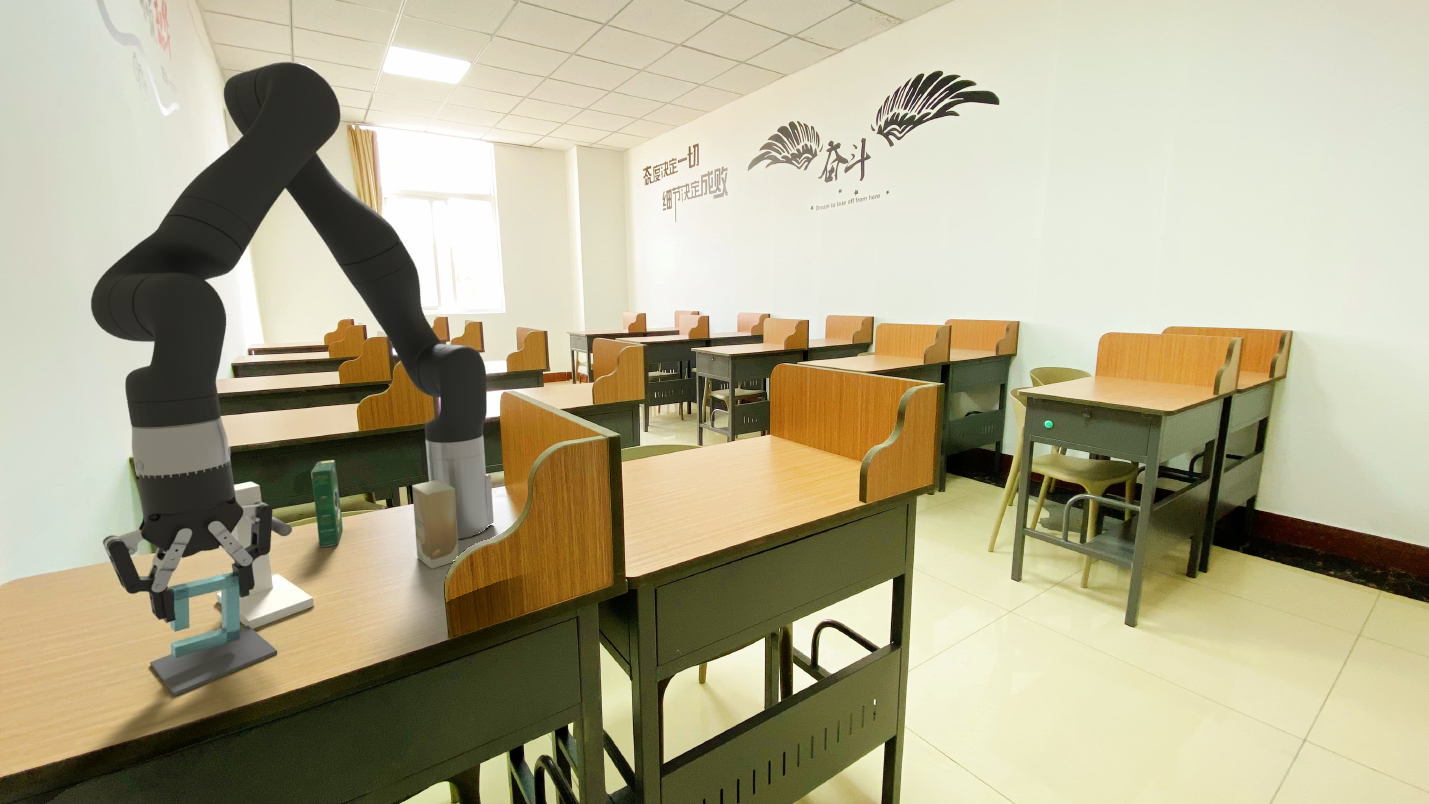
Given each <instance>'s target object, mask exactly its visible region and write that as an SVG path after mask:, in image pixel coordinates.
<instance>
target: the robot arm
mask: <svg viewBox="0 0 1429 804" xmlns="http://www.w3.org/2000/svg"><path fill="white" fill-rule="evenodd" d="M223 99H224V104H225V107H226V109H227V111H228V114H229V116H230V118H231V119H232V121H233V123H234V125H235V126H236V128H237V129H238V131H239V132H240V134H241V135H242V136H241V137H240V139H238V140H237V141H236V143H234V144H233V145H232V146H231V147H230V148H228V149H227V150H226V151H225V152H224V153H223V154H221V155H220V156H219V157H218V158H217V159H215V160H214V161H212V162H211V164H209V165H208V166H207V167H205V168H204V170H202V171H201V172H200V173H199V174H198V175H197V176H196V177H195V178H194V179H193V180H192V181H190V183H189V184H188V185H187V186H186V188H184V189H183V191H182V192H181V193H180V195H179V196H178V198H177V199H176V200H175V202H174V203H173V205H172V206H171V207H170V209H169V211H167V213H166V215H165V216H164V218H163V219H162V220H161V222H160V224H159V225H158V228H157V229H156V230H155V231H154V232H153V233H151V234H150V235H149V236H147V237H146V238H144V239H143V240H142V241H139V242H138V243H137V244H136V245H135V246H134V247H133V248H131V249H130V250H129V251H128V252H127V253H125V254H124V255H123V256H121V257H120V258H119V259H118V260H117V261H116V262H115V263H114V264H113V265H111V266H110V267H109V268H108V269H107V270H106V271H105V272H104V273H103V275H102V276H100V278H99V280H98V281H97V283H96V285H95V286H94V288H93V291H92V295H91V299H90V311H91V315H92V316H93V318H94V320H95V322H96V323H97V325H98V326H99V327H100V328H101V329H102V330H104V332H106V333H107V334H109V335H111V336H113V337H115V338H118V339H119V340H120V339H122V340H124V341H125V340H126V341H131V342H141V343H142V342H143V343H144V342H147V343H149V342H150V343H151V342H152V343H154V344H153V350H152V357H151V360H150V364H149V365H146V366H143V367H139V368H136V369H134V370H131V372H129V373H128V374H127V375H126V377H125V386H124V387H125V396H126V397H125V398H126V400H127V401H126V403H127V408H128V413H129V421H130V425H131V451H132V458H133V462H134V470H135V475H136V481H137V487H138V493H139V499H140V505H141V510H142V522H141V523H140V525H139V527H138V529H136V530H133V531H129V532H127V533H124V534H121V535H108V536H106V537H105V538H104V539H103V540H102V544H103V546H104V549H105V551H106V554H107V555H108V559H109V560H110V562H111V565H112V567H113V570H114V572H115V574H116V576H117V578H118V581H119V583H120V585H121V587H122V588H124V589H125V591H126V592H127V593H128V594H129V595H130V594H132V595H134V594H138V593H142V592H143V593H144V592H145V593H148V595H149V599H150V600H149V601H150V607H151V611H152V614H153V615H154V616H155V617H156V618H157V620H159V621H160V620H163V621H164V623H166V624H168V623H170V622H171V621H174V620H176V618H175V612H174V606H173V600H172V594H171V589H170V586H168V585H169V583H170V581H171V577H172V576H173V573H174V572H175V571H176V569H177V568H178V565H179V563H180V561H181V558H187V557H192V556H193V555H196V554H198V553H201V552H207V551H213V550H218V549H220V547H221V549H223V550H224V551H225V553H227V554H228V556H229V557H230V558H231V559H232V560H233V563H231V569H232V572H234V573H236V574H237V575H238V576H239V596H240V597H241V598H242V597H245V596H248V595H249V590H251V589H253V588H254V585H255V582H254V575H253V568H252V563H253V561H254V560H255V559H256V558H258V557H260V556H261V555H266V554H268V553H270V552H271V543H272V530H271V529H272V516H273V510H274V509H273V506H271V505H269V504H267V503H265V502H264V501H262V502H261V501H258V502H256V503H254V504H253V505H247V506H240V505H239V504H238V502H237V501H236V496H235V489H234V485H235V483H234V482H235V481H234V478H233V468H232V463H231V454H232V453H231V447H230V446H229V442H228V436H227V433H226V429H225V427H224V424H223V419H222V414H221V407H220V400H219V399H220V398H219V393H218V387H217V376H218V371H219V368H220V364H221V358H222V353H223V346H224V341H225V335H226V330H227V313H226V309H225V305H224V303H223V301H222V298H221V296H220V295H219V292H217V290H216V289H215V288H214V286H212V285H211V284H210V283H209V282H208V281H207V280H210V279H213V278H217V277H222V276H225V275H227V274H229V273H230V272H232V271H233V269H234V268H235V267H236V266H237V265H238V264H239V262H240V260H241V258H242V257H243V255H244V253H245V252H246V249H248V246H249V245H250V244H251V241H252V240H253V238H254V236H255V235H256V233H257V231H258V228H260V226H261V224H262V222H263V221H264V219H265V218H266V216H267V214H268V212H270V210H271V208H273V205H274V204H275V203H276V201H277V200H278V198H279V197H280V196H281V194H283V192H284V191H285V189H286V191H287V192H288V193H289V195H290V196H291V197H292V198H293V200H294V201H295V203H296V204H297V205H298V207H299V208H300V210H301V211H302V212H303V215H305V217H306V218H307V219H308V221H309V222H310V223H311V226H313V229H315V231H316V232H317V234H318V235H319V236H320V238H321V239H322V240H323V242H324V244H325V245H326V247H327V248H328V250H329V251H330V253H331V255H332V256H333V258H334V259H335V261H336V263H337V264H338V266H339V268H340V269H341V271H342V272H343V273H344V275H345V276H346V277H347V279H348V281H349V282H350V283H351V285H352V286H353V287H354V289H355V290H356V292H357V293H358V294H359V296H360V297H361V299H362V300H363V302H364V304H365V305H366V306H367V308H368V309H369V311H370V312H371V314H372V316H373V317H374V318H375V320H376V321H377V323H378V324H379V326H380V327H381V329H382V330H383V331H384V333H385V335H386V336H387V338H388V339H389V342H390V343H391V345H392V347H393V348H394V351H395V353H396V355H397V356H398V358H399V360H400V363H401V364H402V366H403V369H404V371H405V372H406V374H407V376H408V378H409V379H410V380H411V382H412V384H413V385H414V386H415V387H416V388H417V390H418V391H419V392H422V393H423V394H425V395H427V396H430V397H434V398H439V400H440V403H439V405H440V406H439V408H440V409H439V414H438V416H436V417H435V418H432V419H429V420H428V421H426V423H425V425H424V436H425V446H426V447H425V448H426V449H425V450H426V460H427V473H428V482H430V481H435V480H440V481H442V482H444V483H446V484H448V485H449V486H451V487H453V488H455V502H456V519H457V537H458V540H460V539H465V538H470V537H474V536H473V535H475V536H477V535H479V534H478V533H479V532H481V531H483V530H484V529H486V528H487V526H488V525H490V524H492V523H493V522H494V506H493V489H492V475H490V474H488V473H487V472H486V458H485V457H486V456H485V443H484V442H485V440H484V424H485V420H486V417H487V414H488V413H487V402H488V401H487V396H488V395H487V393H488V392H487V386H488V385H487V383H488V382H487V371H486V366H485V362H484V360H483V357H482V356H481V354H480V353H479V351H478V350H476V349H475V348H473V347H471V346H467V345H460V344H459V345H458V344H444V342H443V341H441V339H440V338H439V337H438V336H437V335H436V333H435V331H434V330H433V328H432V327H431V325H430V324H429V321H428V319H427V318H426V316H425V314H424V311H423V306H422V301H421V300H422V299H421V282H420V277H419V272H418V269H417V266H416V264H415V262H414V260H413V258H412V256H411V255H410V253H409V251H408V250H407V248H406V246H405V245H404V243H403V242H402V239H401V238H400V235H399V234H398V233H397V231H396V230H395V228H394V227H393V226H392V225H391V224H390V223H389V221H387V220H386V219H385V218H384V217H383V216H382V215H381V214H379V213H378V212H377V211H376V210H374V209H373V208H372V207H371V206H369V204H367V203H366V202H365V201H363V200H362V199H360V198H359V197H358V196H356V195H355V194H354V193H352V192H351V191H350V190H349V189H347V188H346V187H345V186H344V185H343V184H342V183H341V182H339V180H338V179H337V178H336V177H335V175H333V174H332V173H331V172H330V170H329V168H327V166H326V165H325V163H324V161H322V158H321V157H320V156H319V154H318V153H317V152H318V151H319V150H320V149H321V148H322V147H323V146H324V145H325V144H326V143H327V142H328V141H329V140H330V139H331V137H333V135H334V134H335V133H336V131H337V130H338V129H339V126H340V122H341V107H340V103H339V100H338V96H337V95H336V93H335V91H334V89H333V88H332V86H331V85H330V83H329V82H328V81H327V80H326V79H325V78H324V77H323V76H322V75H321V74H320V73H319V72H317V71H316V70H315V69H313V68H312V67H311V66H308V65H307V64H303V63H299V62H296V61H295V62H294V61H281V62H274V63H271V64H270V63H269V64H266V65H263V66H259V67H256V68H253V69H250V70H246V71H243V72H240V73H237V74H235V75H233V76H231V77H229V78H228V80H227V81H225V84H224V88H223ZM243 515H244V516H246V520H247V521H248V522H250V523H252V526H251V544H250V546H248V547H247V548H245V549H244V548H243V547H242V545H241V544H240V543H239V542H238V541H237V540H236V539H235V538H234V537H233V536H232V534H231V533H232V531H233V530H234V528H235V527H236V525H237V524H238V522H239V520H240V519H241V517H242V516H243ZM494 523H495V522H494ZM476 534H477V535H476ZM143 540H145V541H146V542H148V543H150V544H151V545H153V546H155V547H157V548H156V551H155V553H154V556H153V558H152V561H151V562H152V563H151V567H150V569H149V572H148V574H147V575H143V576H141V575H139V574H138V573H139V572H138V571H137V568H136V566H135V564H134V561H133V559H132V557H131V556H133V555H134V554H136V553H137V552H138V550H139V547H138V546H139V544H140V542H142V541H143Z"/></svg>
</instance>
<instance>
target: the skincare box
mask: <svg viewBox="0 0 1429 804" xmlns="http://www.w3.org/2000/svg"><path fill="white" fill-rule="evenodd" d="M411 487H412V500H413V513H414V529H415V540H416V555H417V557H418V558H419V560H420V561H422V563H424V564H425V565H426V566H428V567H429V568H431V569H432V570H433V569H436V568H439V567H444V566H445V565H449V564H452V563H454V562H453V560H455V559H456V557H457V556H458V555H459V542H458V541H459V539H458V537H457V519H456V502H455V488H453V487H451V486H449V485H448V484H446V483H444V482H442V481H440V480H435V481H430V482H429V481H425V482H421V483H417V484H413V485H411ZM459 556H460V555H459Z"/></svg>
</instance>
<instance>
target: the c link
mask: <svg viewBox="0 0 1429 804" xmlns="http://www.w3.org/2000/svg"><path fill="white" fill-rule="evenodd" d="M169 588H170V589H171V594H172V600H173V606H174V612H175V618H176V620H174V621H171V622H169V624H170V628H171V630H172V631H173V632H174V633H176V632H179V631H182V630H186V629H190V598H194V597H199V596H202V595H207V594H210V593H214V592H221V601H222V605H221V627H220V628H218V629H217V628H216V629H215V630H214V629H213V630H211V631H208V632H204V633H200V634H197V635H193V636H189V637H185V638H182V639H179V640H176V641H172V642H170V654H172V655H173V656H174V657H175V658H178V657H182V656H185V655H188V654H191V653H195V652H198V651H201V650H205V649H208V648H211V647H214V646H218V645H221V644H224V643H228V642H231V641H234V640H237V639H240V629H241V628H240V627H241V624H240V623H241V621H240V606H239V576H238V575H237V574H236V573H234V572H233V571H231V572H229V573H228V572H227V573H224V574H220V575H214V576H209V577H206V578H205V577H204V578H201V579H197V580H196V579H195V580H193V581H189V582H184V583H180V584H174V585H171V586H169Z"/></svg>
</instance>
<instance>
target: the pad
mask: <svg viewBox="0 0 1429 804" xmlns="http://www.w3.org/2000/svg"><path fill="white" fill-rule="evenodd" d="M277 654H278V650H277V649H276V648H275V647H274V646H273V645H271V644H270V643H269V642H268V641H267V640H266V639H265V638H263V637H262V636H261V635H260V634H258V633H257V631H255V630H254V629H252V628H251V627H249V626H244V627H241V628H240V639H237V640H234V641H231V642H228V643H224V644H221V645H218V646H214V647H211V648H208V649H205V650H201V651H198V652H195V653H191V654H188V655H185V656H182V657H178V658H175V657H174V656H173V655H172V654H171V653H170V654H168V655H166V656H163V657H160V658H158V659H154V660H152V661H150V662H149V664H150V666H151V668H152V669H153V670H154V672H155V673H156V674H157V676H158V677H159V678H160V680H161V681H162V682H163V683H164V685H165V686H166V687H167V689H168V690H169V691H170V693H171V694H172V695H173V697H176V696H179V695H182V694H183V693H186V692H189V691H190V690H194V689H195V688H198V687H201V686H203V685H205V684H207V683H210V682H213V681H214V680H217V679H219V678H222V677H225V676H227V675H229V674H232V673H234V672H236V671H238V670H242V669H244V668H245V667H248V666H251V665H253V664H255V663H259V662H260V661H263V660H265V659H267V658H270V657H272V656H274V655H277Z"/></svg>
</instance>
